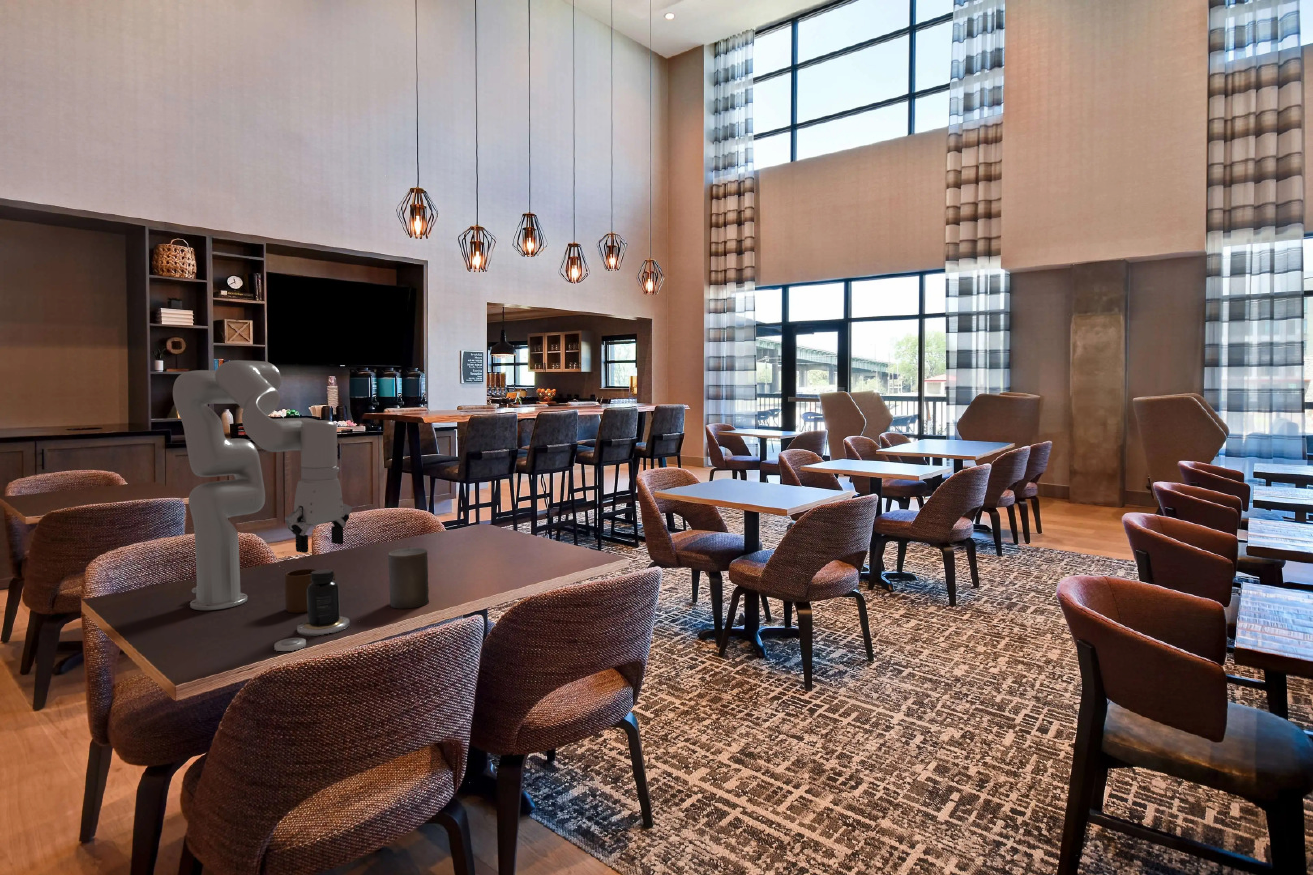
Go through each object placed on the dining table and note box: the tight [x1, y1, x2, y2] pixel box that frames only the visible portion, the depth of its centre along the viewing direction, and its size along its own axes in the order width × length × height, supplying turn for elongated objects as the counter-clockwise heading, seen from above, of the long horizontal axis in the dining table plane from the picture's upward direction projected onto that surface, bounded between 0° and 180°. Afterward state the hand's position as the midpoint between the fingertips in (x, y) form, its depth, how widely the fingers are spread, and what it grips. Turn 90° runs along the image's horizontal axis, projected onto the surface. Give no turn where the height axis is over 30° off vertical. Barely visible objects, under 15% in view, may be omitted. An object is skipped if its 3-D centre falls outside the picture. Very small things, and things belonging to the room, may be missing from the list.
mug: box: [284, 568, 336, 614], centre depth 181 cm, size 12×8×9 cm, turn 134°
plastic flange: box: [274, 637, 307, 652], centre depth 153 cm, size 6×6×1 cm
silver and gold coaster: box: [296, 615, 350, 637], centre depth 166 cm, size 11×11×1 cm
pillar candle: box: [387, 546, 430, 609], centre depth 185 cm, size 10×10×15 cm
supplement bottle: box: [307, 568, 341, 626], centre depth 166 cm, size 7×7×12 cm
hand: (320, 547), depth 165 cm, fingers open, 9 cm apart
